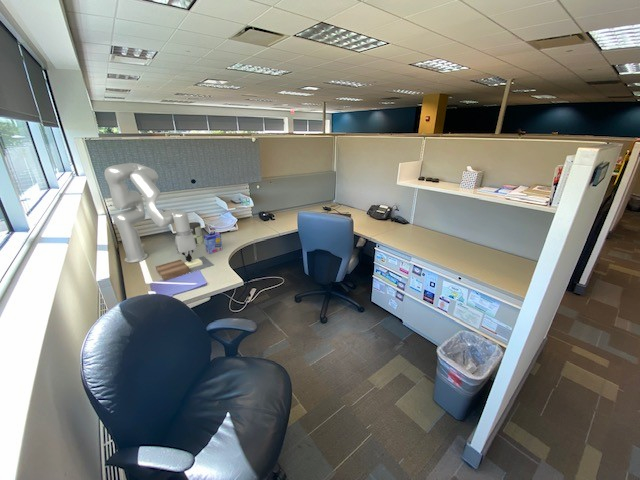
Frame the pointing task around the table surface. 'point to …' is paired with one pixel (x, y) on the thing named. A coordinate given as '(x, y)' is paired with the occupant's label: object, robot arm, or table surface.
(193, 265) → the notepad
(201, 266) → the mat
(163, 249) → the table surface
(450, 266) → the table surface
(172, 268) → the block
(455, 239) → the table surface
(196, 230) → the coffee can
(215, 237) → the ink cartridge box
